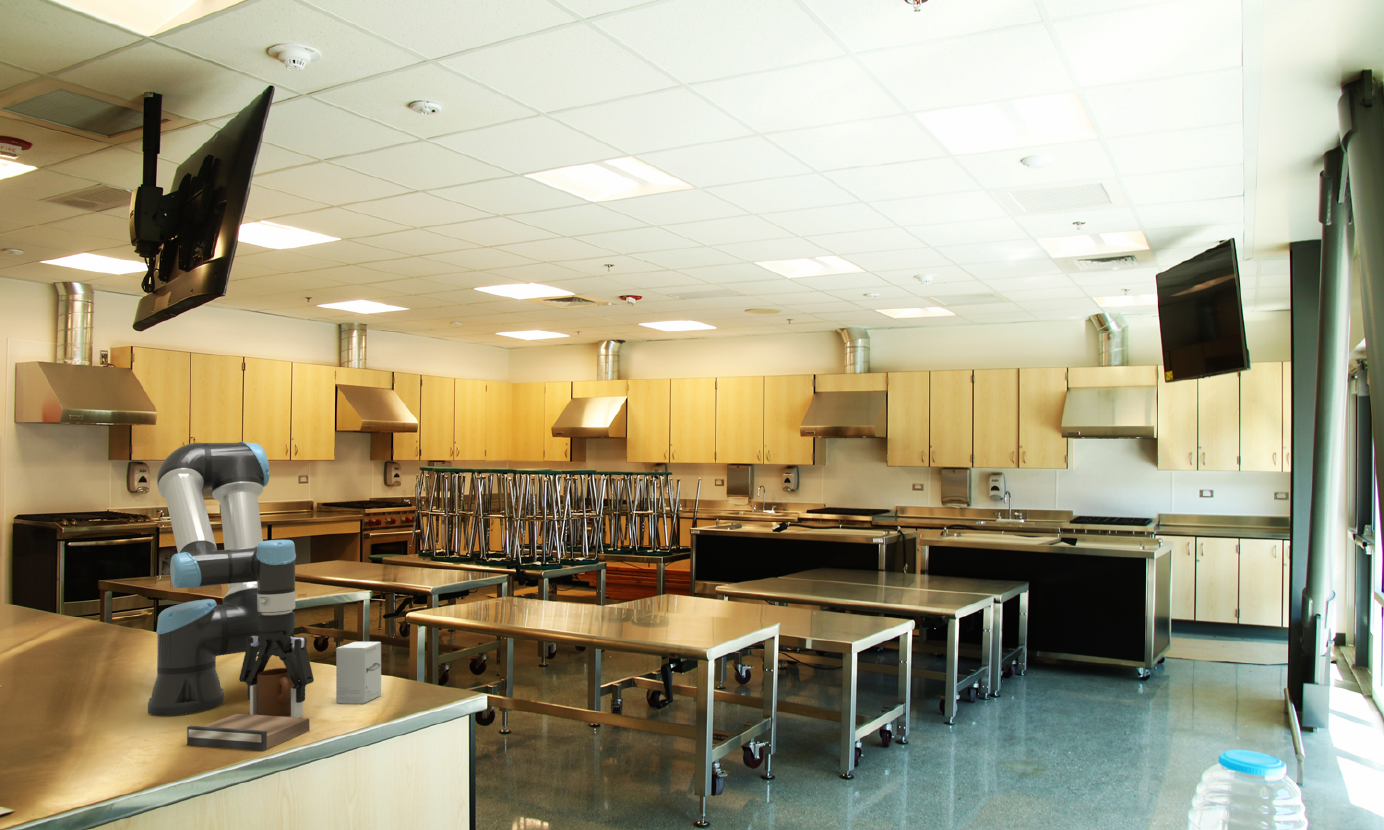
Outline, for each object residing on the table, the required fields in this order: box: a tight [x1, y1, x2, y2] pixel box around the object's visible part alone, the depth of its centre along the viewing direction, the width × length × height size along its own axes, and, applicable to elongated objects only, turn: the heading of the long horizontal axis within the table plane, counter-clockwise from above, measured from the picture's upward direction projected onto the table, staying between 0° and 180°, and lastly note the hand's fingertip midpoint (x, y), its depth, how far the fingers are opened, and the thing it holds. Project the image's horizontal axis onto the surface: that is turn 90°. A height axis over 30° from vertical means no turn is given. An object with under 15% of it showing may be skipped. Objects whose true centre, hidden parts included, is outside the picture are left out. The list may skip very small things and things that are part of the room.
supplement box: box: [335, 641, 382, 705], centre depth 206 cm, size 7×7×13 cm
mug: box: [257, 667, 294, 717], centre depth 193 cm, size 12×8×9 cm, turn 40°
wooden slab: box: [186, 713, 311, 752], centre depth 179 cm, size 18×13×4 cm
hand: (276, 716), depth 193 cm, fingers closed on mug, 10 cm apart
